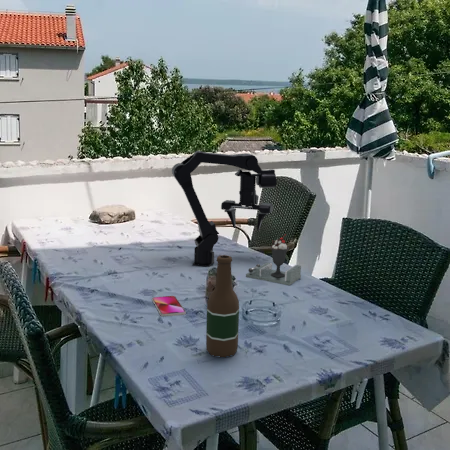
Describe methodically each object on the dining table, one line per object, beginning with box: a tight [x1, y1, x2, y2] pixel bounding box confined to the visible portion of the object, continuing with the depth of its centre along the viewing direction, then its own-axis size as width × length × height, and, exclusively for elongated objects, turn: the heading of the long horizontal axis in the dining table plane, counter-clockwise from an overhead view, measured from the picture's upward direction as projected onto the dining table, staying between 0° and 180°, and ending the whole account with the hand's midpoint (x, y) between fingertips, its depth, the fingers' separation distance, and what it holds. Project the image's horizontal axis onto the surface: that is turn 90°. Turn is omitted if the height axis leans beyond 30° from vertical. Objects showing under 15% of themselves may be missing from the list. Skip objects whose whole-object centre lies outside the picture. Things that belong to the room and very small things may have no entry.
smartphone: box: [151, 295, 187, 318], centre depth 162 cm, size 7×1×15 cm
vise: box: [245, 262, 302, 286], centre depth 192 cm, size 16×10×4 cm, turn 61°
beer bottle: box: [205, 254, 240, 358], centre depth 132 cm, size 8×8×24 cm
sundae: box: [269, 233, 290, 277], centre depth 190 cm, size 7×7×15 cm
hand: (246, 229), depth 206 cm, fingers open, 9 cm apart
